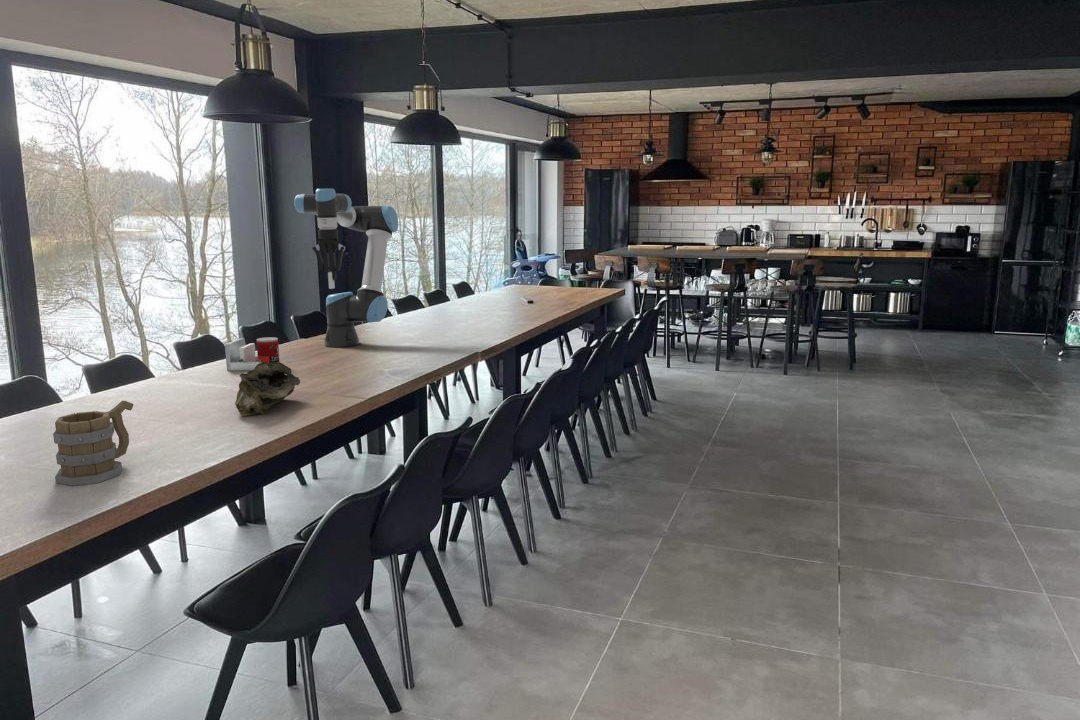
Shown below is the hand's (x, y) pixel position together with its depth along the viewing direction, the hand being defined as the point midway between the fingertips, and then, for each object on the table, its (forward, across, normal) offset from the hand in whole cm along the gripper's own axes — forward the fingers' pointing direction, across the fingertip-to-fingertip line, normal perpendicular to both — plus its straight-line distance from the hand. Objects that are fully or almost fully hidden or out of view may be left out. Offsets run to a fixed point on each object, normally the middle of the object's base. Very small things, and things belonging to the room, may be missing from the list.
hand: (331, 288), depth 307 cm
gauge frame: (+28, -27, -18) cm, 43 cm away
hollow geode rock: (+28, +4, -78) cm, 83 cm away
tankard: (+26, -11, -138) cm, 141 cm away
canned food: (+29, -21, -18) cm, 40 cm away
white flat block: (+28, -29, -19) cm, 45 cm away
